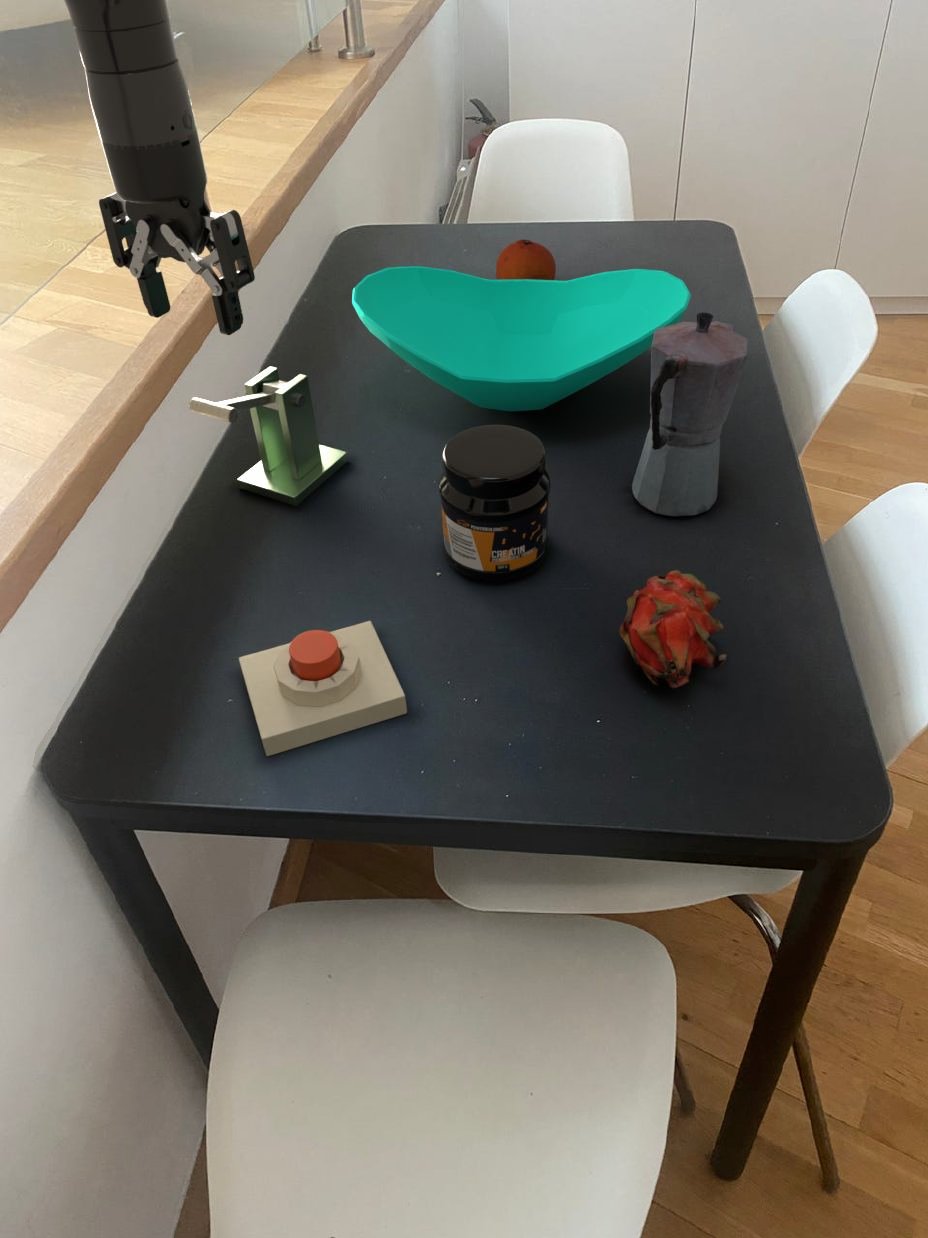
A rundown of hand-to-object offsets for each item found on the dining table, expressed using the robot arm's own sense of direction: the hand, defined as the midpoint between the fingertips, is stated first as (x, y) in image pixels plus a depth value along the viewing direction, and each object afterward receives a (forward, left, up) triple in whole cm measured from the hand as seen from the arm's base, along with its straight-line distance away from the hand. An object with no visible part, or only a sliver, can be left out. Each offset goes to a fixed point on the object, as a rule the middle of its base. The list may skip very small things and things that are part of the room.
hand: (195, 322), depth 84 cm
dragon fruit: (+30, -37, -22) cm, 52 cm away
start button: (+1, -29, -18) cm, 34 cm away
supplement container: (+22, -17, -22) cm, 36 cm away
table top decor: (+37, +12, -22) cm, 45 cm away
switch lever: (+3, +3, -12) cm, 12 cm away
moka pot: (+43, -16, -22) cm, 51 cm away
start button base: (+1, -29, -22) cm, 36 cm away
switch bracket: (+7, +6, -22) cm, 24 cm away
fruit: (+50, +39, -22) cm, 68 cm away
